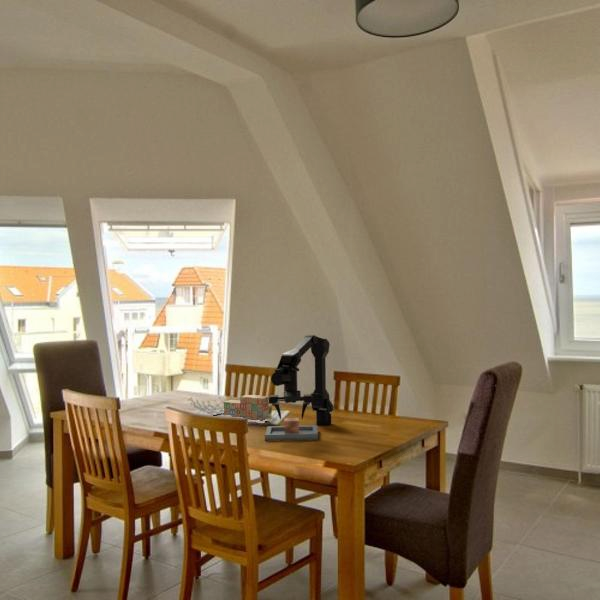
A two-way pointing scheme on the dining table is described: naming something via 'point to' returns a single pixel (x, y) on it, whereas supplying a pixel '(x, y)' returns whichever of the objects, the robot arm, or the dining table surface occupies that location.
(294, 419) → the cube
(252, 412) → the stack of blocks
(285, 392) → the robot arm
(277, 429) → the tray
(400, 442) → the dining table surface
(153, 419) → the dining table surface
